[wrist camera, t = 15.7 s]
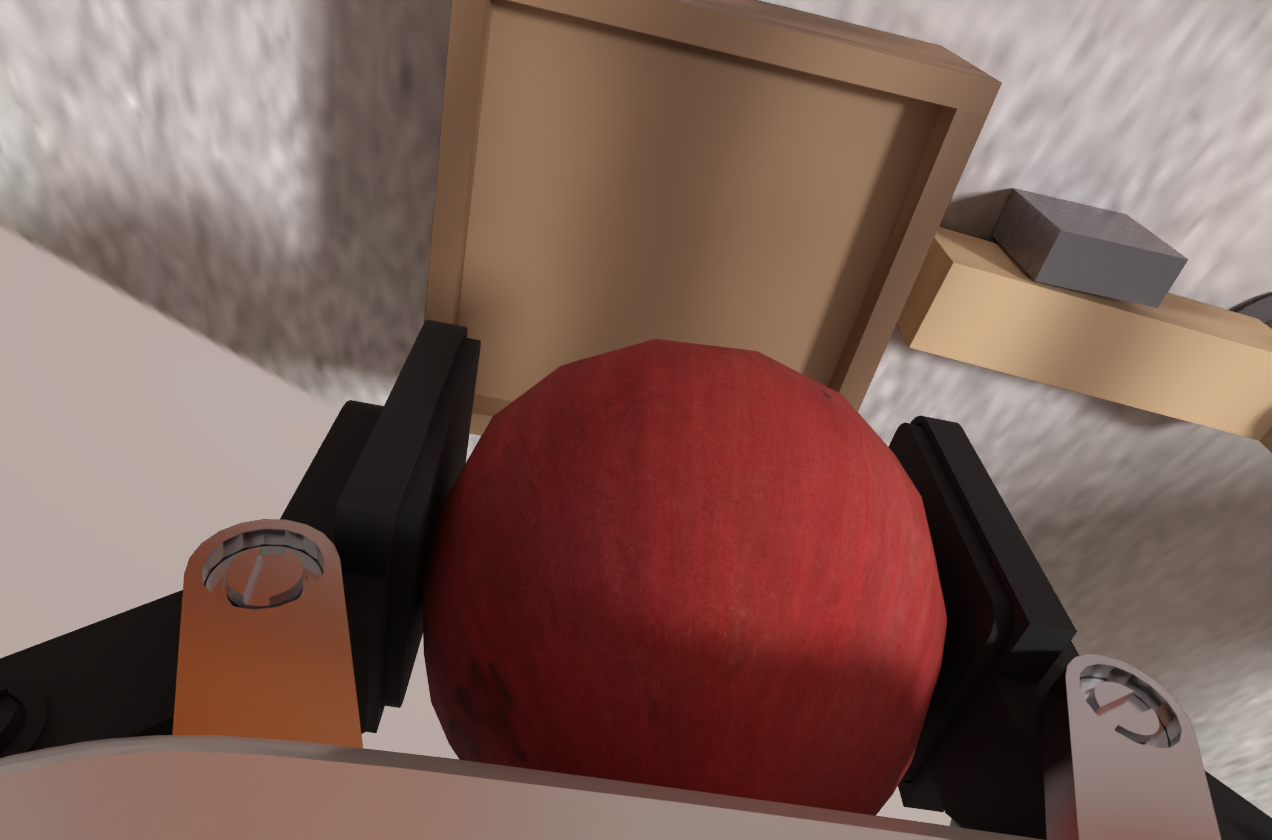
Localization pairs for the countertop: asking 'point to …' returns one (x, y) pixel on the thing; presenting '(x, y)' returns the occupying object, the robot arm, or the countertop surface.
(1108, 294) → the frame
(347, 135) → the countertop surface
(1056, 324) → the leg
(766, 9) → the wooden tray
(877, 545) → the onion
